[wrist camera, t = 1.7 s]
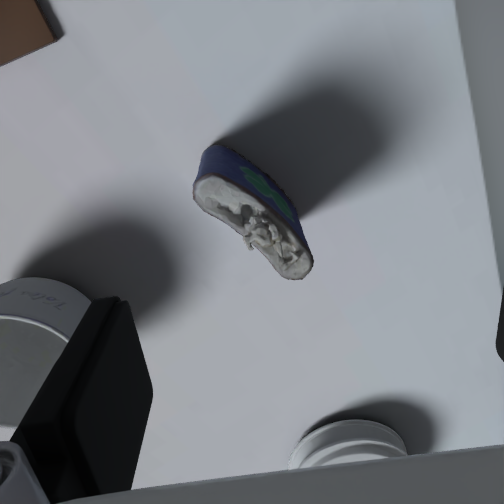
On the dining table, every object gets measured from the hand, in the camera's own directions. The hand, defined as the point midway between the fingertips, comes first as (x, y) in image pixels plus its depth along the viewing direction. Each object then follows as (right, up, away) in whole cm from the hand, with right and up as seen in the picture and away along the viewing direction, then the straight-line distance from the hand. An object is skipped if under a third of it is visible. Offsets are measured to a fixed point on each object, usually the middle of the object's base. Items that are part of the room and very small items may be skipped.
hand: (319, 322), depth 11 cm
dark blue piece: (-2, +7, +23) cm, 24 cm away
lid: (+8, -20, +36) cm, 42 cm away
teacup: (-21, -4, +27) cm, 34 cm away
